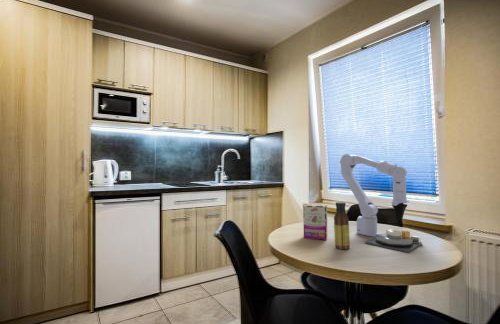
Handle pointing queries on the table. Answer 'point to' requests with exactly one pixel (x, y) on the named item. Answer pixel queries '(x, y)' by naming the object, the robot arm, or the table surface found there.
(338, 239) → the sauce bottle
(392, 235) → the cover
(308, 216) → the candy bar box
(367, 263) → the table surface
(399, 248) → the base plate
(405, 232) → the turntable
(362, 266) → the table surface
